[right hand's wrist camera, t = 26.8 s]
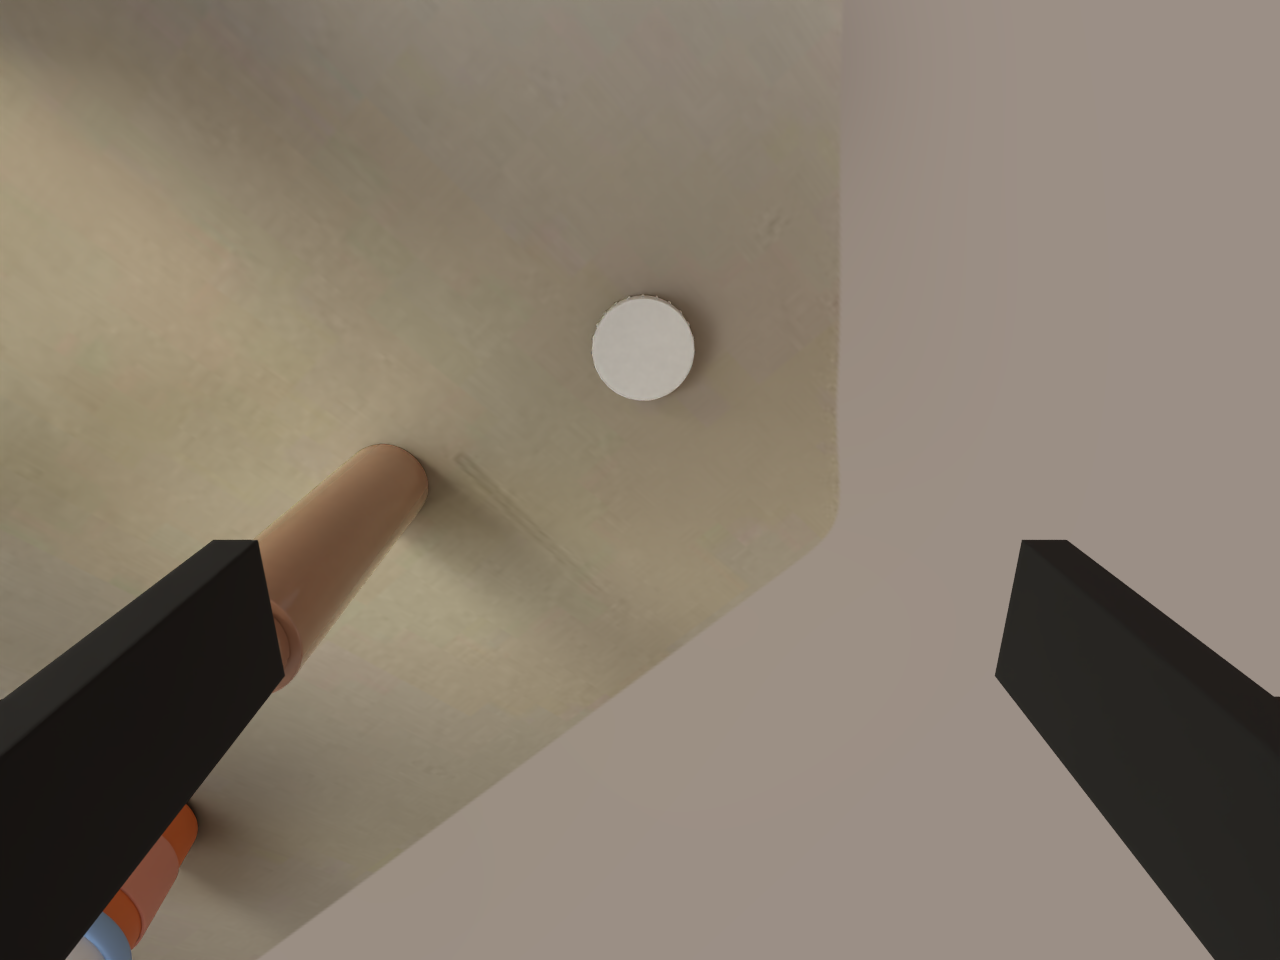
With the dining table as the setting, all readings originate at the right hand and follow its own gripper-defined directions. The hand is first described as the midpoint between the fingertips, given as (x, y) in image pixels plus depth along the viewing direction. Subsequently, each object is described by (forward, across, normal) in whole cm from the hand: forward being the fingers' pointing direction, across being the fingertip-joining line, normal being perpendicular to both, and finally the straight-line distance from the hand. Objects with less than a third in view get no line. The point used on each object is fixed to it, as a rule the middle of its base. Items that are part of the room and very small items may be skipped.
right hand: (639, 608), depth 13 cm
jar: (+29, +15, +8) cm, 34 cm away
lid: (+28, 0, 0) cm, 28 cm away
